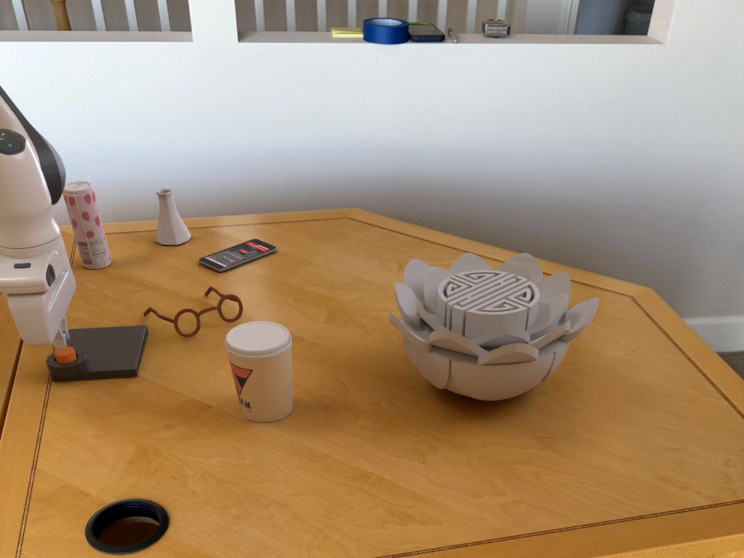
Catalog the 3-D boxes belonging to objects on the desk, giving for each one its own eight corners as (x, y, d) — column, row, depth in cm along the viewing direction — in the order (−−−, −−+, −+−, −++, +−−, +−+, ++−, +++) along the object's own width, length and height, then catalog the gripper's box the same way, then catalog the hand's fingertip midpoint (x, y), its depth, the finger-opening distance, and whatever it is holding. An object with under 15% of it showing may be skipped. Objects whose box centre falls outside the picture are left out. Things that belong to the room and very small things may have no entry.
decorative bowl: (469, 316, 139) (475, 232, 128) (609, 378, 123) (628, 288, 113) (343, 377, 123) (338, 286, 113) (484, 457, 107) (494, 360, 97)
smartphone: (278, 247, 159) (219, 269, 151) (278, 250, 160) (220, 273, 151) (255, 238, 163) (196, 259, 154) (255, 241, 163) (197, 262, 155)
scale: (48, 385, 121) (42, 368, 119) (68, 336, 132) (63, 320, 130) (136, 380, 122) (132, 363, 120) (148, 332, 134) (144, 316, 132)
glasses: (179, 343, 131) (174, 315, 127) (143, 316, 138) (137, 289, 135) (245, 319, 137) (242, 293, 134) (207, 295, 144) (203, 269, 141)
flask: (149, 243, 163) (138, 194, 156) (169, 231, 168) (159, 183, 161) (178, 248, 161) (168, 198, 154) (197, 236, 166) (189, 187, 159)
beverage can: (111, 256, 157) (91, 179, 147) (112, 267, 153) (93, 189, 143) (82, 260, 156) (60, 182, 146) (82, 271, 152) (60, 192, 142)
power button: (55, 365, 120) (52, 356, 119) (58, 355, 122) (56, 346, 121) (74, 363, 120) (72, 355, 119) (78, 354, 122) (75, 345, 121)
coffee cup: (229, 399, 118) (216, 326, 110) (287, 386, 121) (280, 315, 112) (244, 431, 111) (233, 357, 103) (306, 417, 114) (299, 343, 106)
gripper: (28, 230, 118) (55, 315, 127) (-8, 288, 103) (26, 379, 112) (71, 228, 118) (94, 312, 127) (41, 285, 103) (71, 376, 112)
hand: (62, 344), depth 119 cm, fingers closed
